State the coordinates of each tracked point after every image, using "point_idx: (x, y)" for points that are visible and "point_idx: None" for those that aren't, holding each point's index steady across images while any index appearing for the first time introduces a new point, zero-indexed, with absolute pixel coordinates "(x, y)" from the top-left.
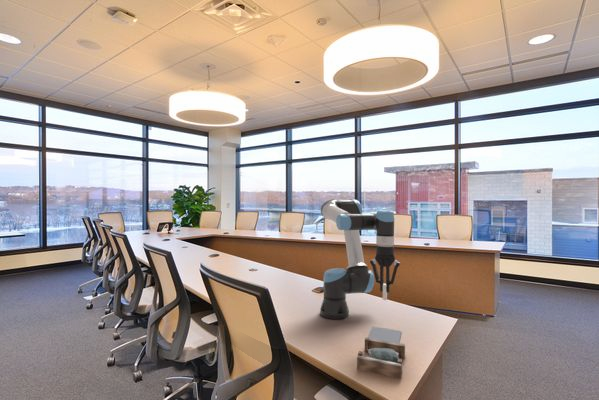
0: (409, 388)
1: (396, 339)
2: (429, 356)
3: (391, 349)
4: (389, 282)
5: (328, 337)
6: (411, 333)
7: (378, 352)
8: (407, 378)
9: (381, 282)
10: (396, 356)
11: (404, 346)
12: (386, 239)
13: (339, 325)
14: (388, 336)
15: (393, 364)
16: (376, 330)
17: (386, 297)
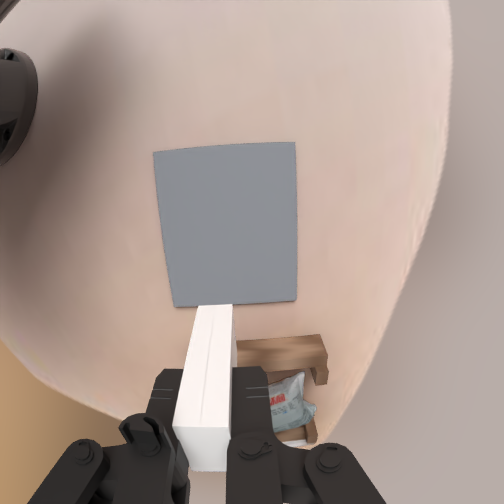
0: (324, 434)
1: (284, 245)
2: (389, 305)
3: (287, 407)
4: (281, 491)
5: (63, 319)
6: (337, 135)
7: None
8: (322, 415)
9: (171, 492)
10: (302, 423)
11: (326, 381)
12: None
13: (39, 207)
14: (247, 230)
15: (296, 445)
16: (181, 191)
17: (234, 345)
